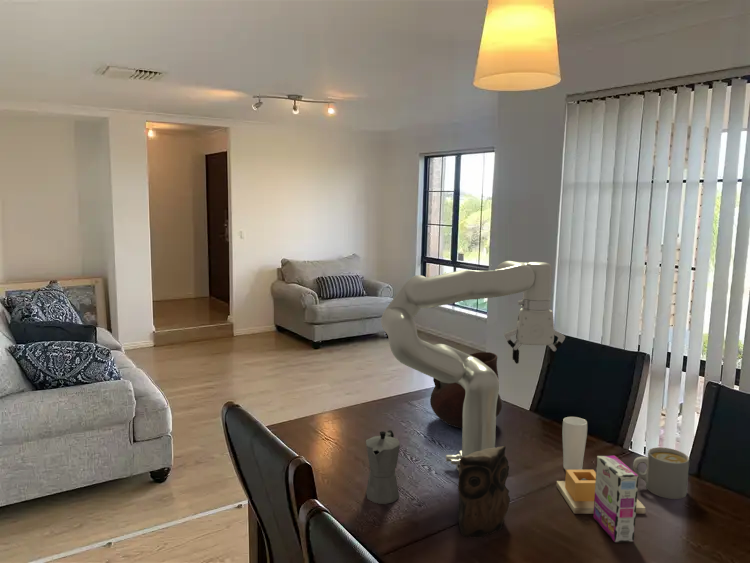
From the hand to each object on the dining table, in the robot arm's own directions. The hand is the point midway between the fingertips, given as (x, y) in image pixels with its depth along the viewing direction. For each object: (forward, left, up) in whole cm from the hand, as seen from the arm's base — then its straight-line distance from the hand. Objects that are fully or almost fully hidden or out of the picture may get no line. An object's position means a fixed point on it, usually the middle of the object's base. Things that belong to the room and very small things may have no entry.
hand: (533, 362), depth 165 cm
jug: (-14, +34, -32) cm, 48 cm away
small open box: (+9, -20, -30) cm, 37 cm away
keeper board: (+13, -19, -32) cm, 39 cm away
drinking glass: (+12, -2, -32) cm, 34 cm away
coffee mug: (+32, -13, -32) cm, 47 cm away
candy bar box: (+11, -33, -32) cm, 48 cm away
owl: (-21, -30, -32) cm, 49 cm away
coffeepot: (-44, -16, -32) cm, 57 cm away
